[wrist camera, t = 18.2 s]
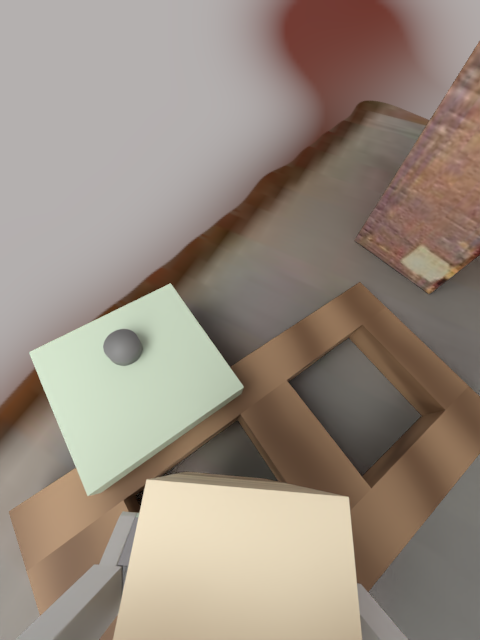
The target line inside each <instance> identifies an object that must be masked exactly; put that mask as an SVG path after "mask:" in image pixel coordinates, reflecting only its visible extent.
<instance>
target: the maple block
mask: <svg viewBox="0 0 480 640" xmlns="http://www.w3.org/2000/svg"><path fill="white" fill-rule="evenodd" d="M113 640H362V632H361V622H360V611H359V600H358V590H357V579H356V568H355V558H354V547H353V536H352V526H351V515H350V505H349V497H347V496H342V495H338V494H333V493H328V492H324V491H319V490H315V489H310V488H305V487H301V486H296V485H292V484H287V483H283V482H278V481H273V480H269V479H263V478H252V477H241V476H229V475H218V474H207V473H195V472H182V473H177V474H172V475H167V476H162V477H156V478H151V479H146V484H145V489H144V494H143V498H142V503H141V508H140V513H139V517H138V522H137V527H136V532H135V537H134V541H133V546H132V551H131V556H130V560H129V565H128V570H127V575H126V580H125V584H124V589H123V594H122V599H121V603H120V608H119V613H118V618H117V623H116V627H115V632H114V637H113Z"/></svg>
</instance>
